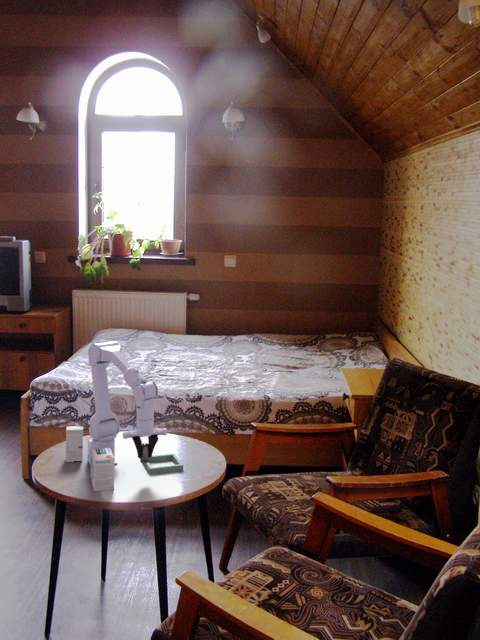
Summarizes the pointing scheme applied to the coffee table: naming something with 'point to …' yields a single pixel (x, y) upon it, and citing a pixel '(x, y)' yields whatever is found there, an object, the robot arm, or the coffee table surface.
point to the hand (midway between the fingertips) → (144, 457)
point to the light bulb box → (102, 469)
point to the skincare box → (74, 443)
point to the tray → (164, 468)
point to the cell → (144, 453)
